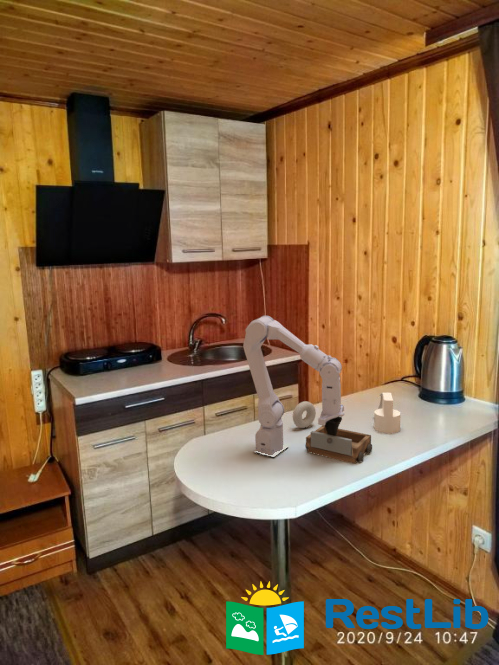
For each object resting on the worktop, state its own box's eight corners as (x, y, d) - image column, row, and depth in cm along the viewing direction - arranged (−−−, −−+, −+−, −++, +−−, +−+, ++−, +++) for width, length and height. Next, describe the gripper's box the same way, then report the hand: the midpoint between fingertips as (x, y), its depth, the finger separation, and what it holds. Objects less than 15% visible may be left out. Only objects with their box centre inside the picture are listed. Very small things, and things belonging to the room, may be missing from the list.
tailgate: (349, 456, 145) (349, 441, 144) (309, 447, 153) (309, 432, 152) (352, 454, 147) (351, 439, 146) (312, 445, 155) (312, 430, 154)
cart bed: (358, 464, 145) (358, 449, 144) (304, 451, 156) (303, 436, 155) (373, 450, 155) (373, 435, 154) (320, 438, 165) (320, 424, 164)
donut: (296, 432, 172) (296, 405, 170) (290, 429, 174) (290, 403, 172) (317, 425, 177) (317, 399, 175) (311, 423, 180) (311, 397, 178)
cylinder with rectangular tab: (401, 433, 167) (402, 401, 165) (374, 432, 169) (375, 400, 166) (398, 424, 175) (399, 392, 173) (373, 423, 177) (373, 392, 175)
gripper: (333, 407, 140) (333, 450, 142) (352, 393, 151) (352, 433, 154) (311, 403, 144) (312, 445, 146) (332, 390, 155) (332, 429, 158)
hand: (331, 439), depth 150 cm, fingers closed, pressing on tailgate
